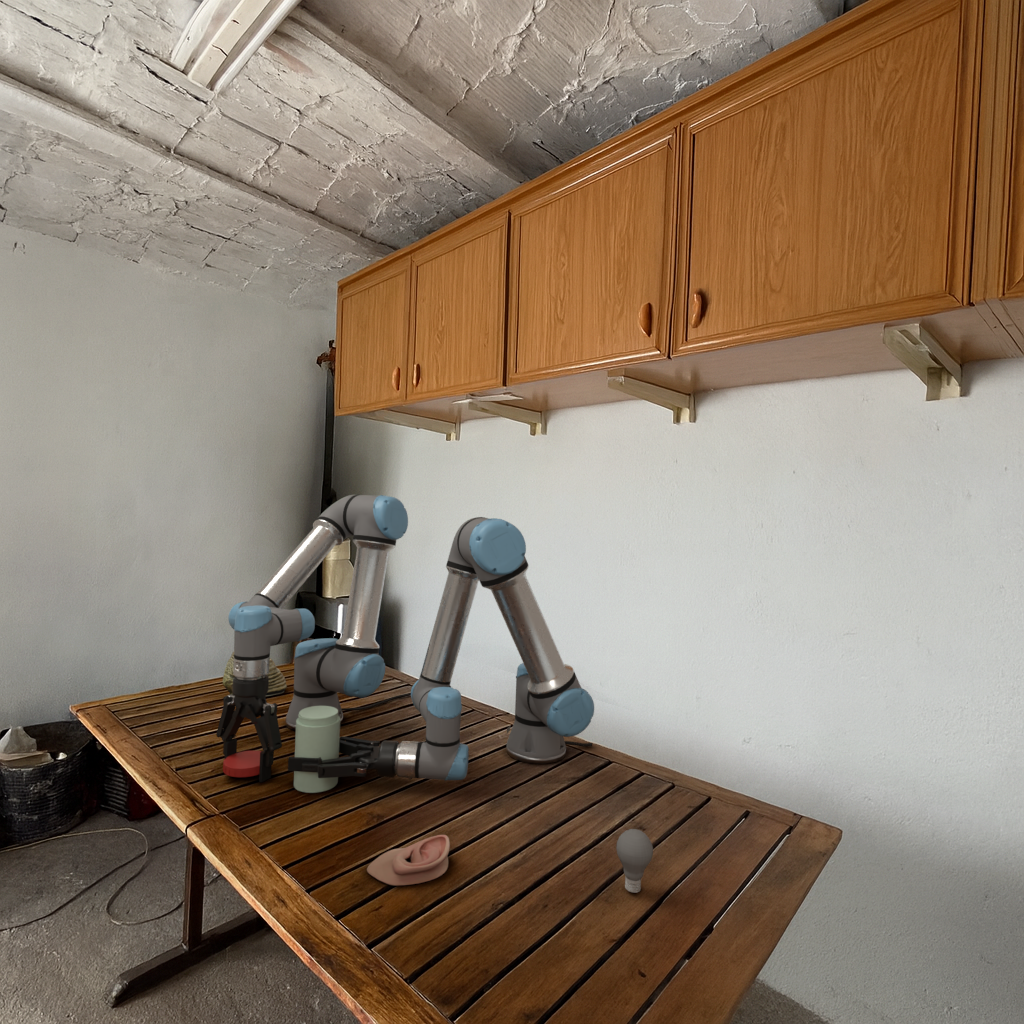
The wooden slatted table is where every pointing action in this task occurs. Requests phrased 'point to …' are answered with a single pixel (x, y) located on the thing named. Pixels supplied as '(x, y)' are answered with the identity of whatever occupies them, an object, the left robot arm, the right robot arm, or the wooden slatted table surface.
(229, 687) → the fossil
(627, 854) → the light bulb
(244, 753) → the lid
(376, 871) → the anatomical model
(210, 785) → the wooden slatted table surface
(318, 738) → the jar
